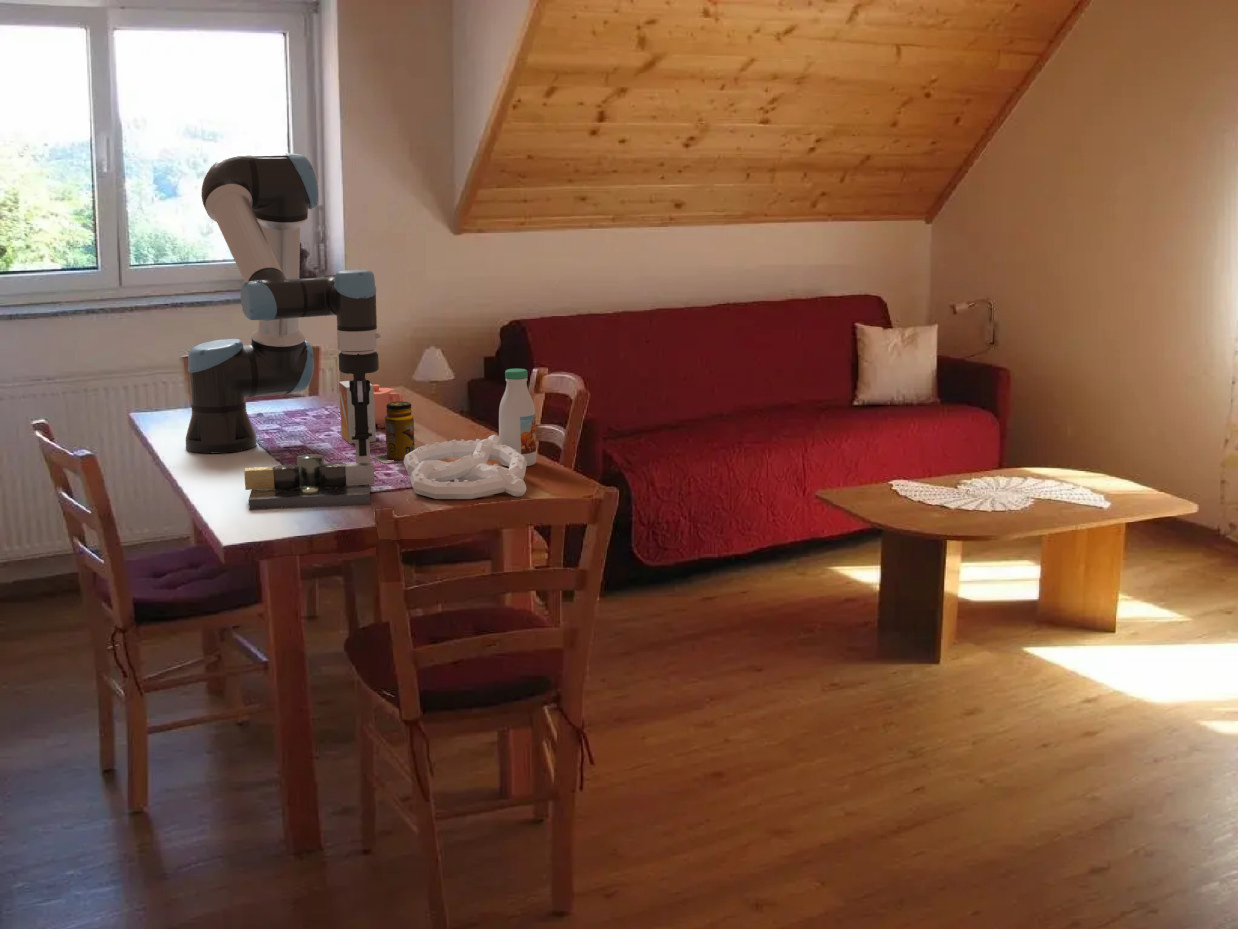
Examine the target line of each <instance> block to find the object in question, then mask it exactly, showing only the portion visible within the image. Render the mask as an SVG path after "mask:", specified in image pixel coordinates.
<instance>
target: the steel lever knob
mask: <svg viewBox="0 0 1238 929" xmlns="http://www.w3.org/2000/svg"><path fill="white" fill-rule="evenodd" d="M374 466H375V464H374V462H370V463H356V462H355V463H345V462H328V463H327V462H326V463H324V464H323V465H321V466H320V468H321V485H322V486H323V487H328V488H336V487H343V486H346V485H368V484H369V485H375V468H374Z"/></svg>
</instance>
